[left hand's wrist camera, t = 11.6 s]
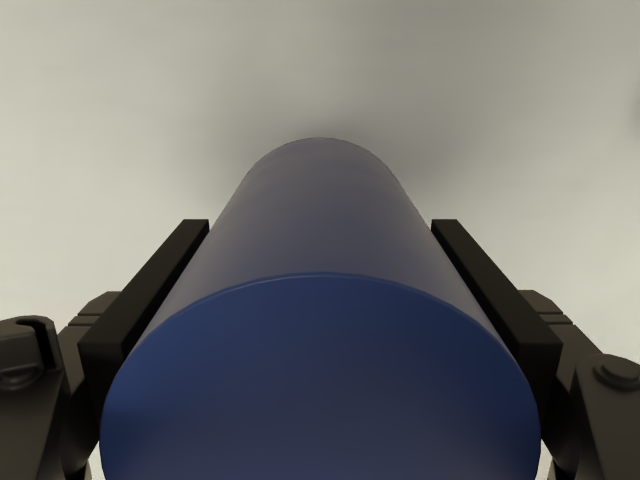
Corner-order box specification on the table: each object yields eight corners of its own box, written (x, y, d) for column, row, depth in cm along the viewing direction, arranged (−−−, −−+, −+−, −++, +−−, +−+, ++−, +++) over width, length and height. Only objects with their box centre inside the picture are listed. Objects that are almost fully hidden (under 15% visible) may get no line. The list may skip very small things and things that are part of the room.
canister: (347, 331, 19) (380, 651, 9) (201, 254, 18) (35, 523, 7) (444, 198, 17) (640, 412, 7) (286, 100, 16) (221, 175, 5)
